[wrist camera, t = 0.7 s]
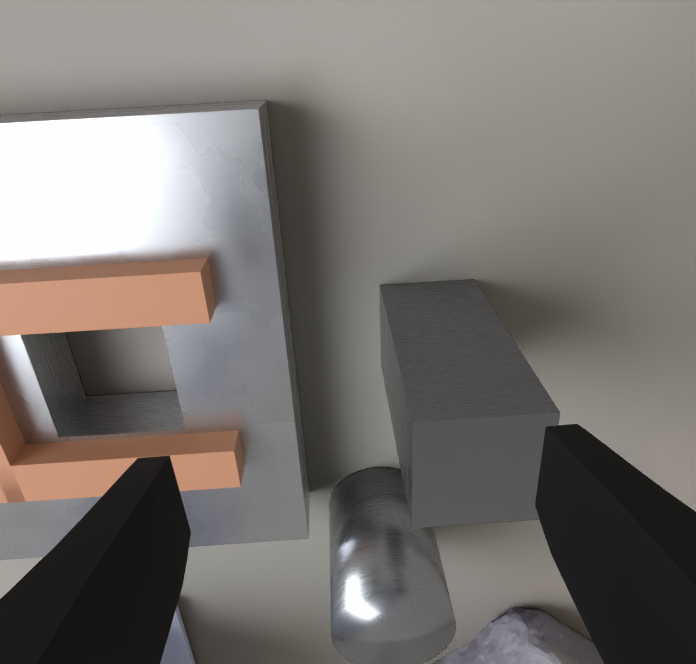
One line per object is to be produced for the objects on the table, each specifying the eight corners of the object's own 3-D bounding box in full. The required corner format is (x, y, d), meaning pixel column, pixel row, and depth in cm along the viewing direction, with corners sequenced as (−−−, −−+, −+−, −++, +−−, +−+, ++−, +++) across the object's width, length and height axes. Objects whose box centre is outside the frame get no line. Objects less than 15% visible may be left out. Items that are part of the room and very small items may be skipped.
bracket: (244, 465, 20) (240, 487, 19) (-89, 487, 20) (-109, 510, 19) (207, 257, 16) (200, 271, 15) (-205, 283, 16) (-238, 298, 15)
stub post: (425, 535, 26) (452, 664, 20) (331, 542, 25) (335, 673, 20) (427, 464, 24) (458, 586, 18) (325, 470, 23) (327, 595, 18)
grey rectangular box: (468, 360, 21) (542, 519, 14) (381, 365, 21) (411, 528, 14) (473, 279, 20) (560, 412, 12) (379, 285, 20) (412, 422, 12)
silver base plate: (309, 492, 24) (308, 538, 22) (-12, 514, 24) (-46, 563, 22) (266, 100, 16) (258, 109, 14) (-204, 126, 16) (-286, 139, 14)
